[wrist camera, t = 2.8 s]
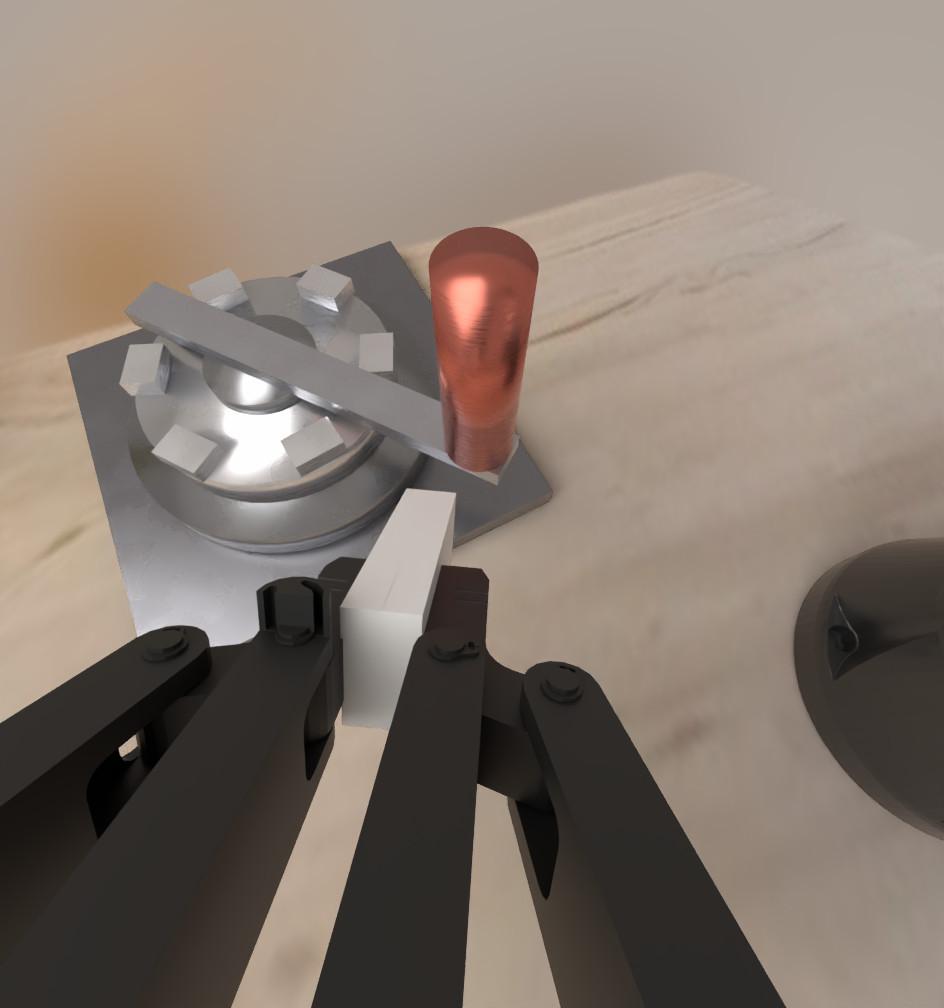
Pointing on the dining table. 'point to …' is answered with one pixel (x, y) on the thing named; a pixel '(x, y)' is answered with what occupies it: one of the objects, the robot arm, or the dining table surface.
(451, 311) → the red grip crank lever
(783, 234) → the dining table surface
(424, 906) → the robot arm
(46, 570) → the dining table surface
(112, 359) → the grey crank base
